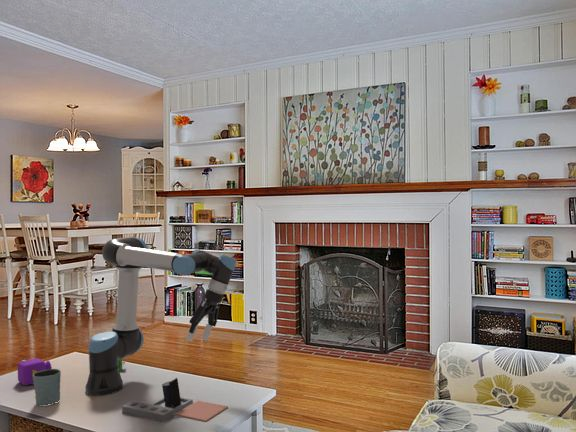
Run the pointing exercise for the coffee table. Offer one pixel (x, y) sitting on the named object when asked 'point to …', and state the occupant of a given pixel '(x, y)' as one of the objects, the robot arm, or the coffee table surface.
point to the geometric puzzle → (120, 364)
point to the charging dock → (153, 409)
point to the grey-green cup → (47, 386)
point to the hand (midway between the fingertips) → (196, 340)
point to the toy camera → (31, 369)
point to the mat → (201, 411)
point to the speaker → (171, 393)
